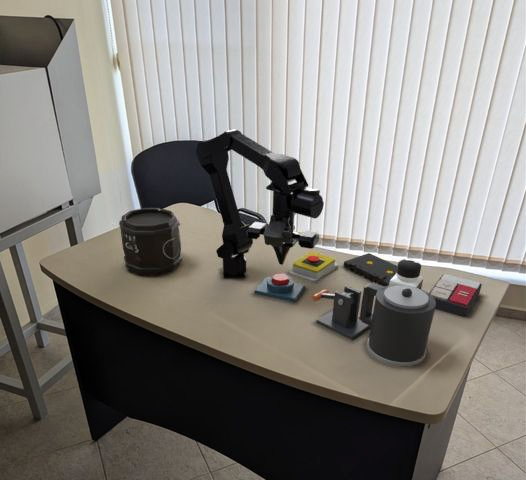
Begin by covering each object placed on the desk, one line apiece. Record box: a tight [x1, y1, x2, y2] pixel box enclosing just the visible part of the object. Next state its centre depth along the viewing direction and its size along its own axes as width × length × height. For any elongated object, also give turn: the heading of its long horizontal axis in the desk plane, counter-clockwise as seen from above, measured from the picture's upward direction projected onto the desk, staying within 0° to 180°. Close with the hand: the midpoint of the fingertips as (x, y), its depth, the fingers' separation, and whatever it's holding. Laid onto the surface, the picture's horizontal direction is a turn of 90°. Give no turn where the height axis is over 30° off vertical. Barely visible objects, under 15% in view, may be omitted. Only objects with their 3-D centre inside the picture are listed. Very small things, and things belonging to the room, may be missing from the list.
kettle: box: [359, 282, 436, 367], centre depth 114 cm, size 17×14×16 cm
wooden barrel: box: [118, 207, 183, 277], centre depth 150 cm, size 18×18×16 cm
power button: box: [272, 272, 289, 285], centre depth 138 cm, size 4×4×2 cm
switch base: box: [315, 285, 371, 341], centre depth 123 cm, size 11×9×10 cm
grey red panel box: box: [428, 273, 483, 318], centre depth 137 cm, size 11×4×15 cm
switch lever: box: [311, 288, 355, 304], centre depth 124 cm, size 11×5×2 cm, turn 46°
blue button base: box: [253, 275, 306, 303], centre depth 139 cm, size 12×9×4 cm
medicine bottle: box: [389, 258, 424, 289], centre depth 134 cm, size 7×7×12 cm
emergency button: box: [289, 251, 339, 282], centre depth 152 cm, size 9×4×15 cm
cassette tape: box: [343, 252, 398, 287], centre depth 151 cm, size 18×12×2 cm, turn 37°
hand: (281, 264), depth 136 cm, fingers closed
